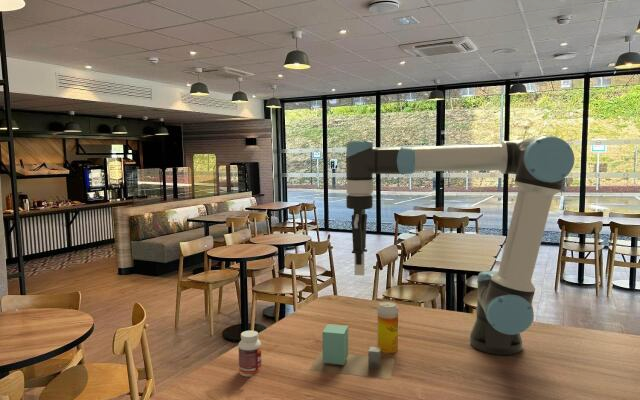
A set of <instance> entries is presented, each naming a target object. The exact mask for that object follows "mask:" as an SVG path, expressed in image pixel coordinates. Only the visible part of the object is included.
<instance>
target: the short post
mask: <svg viewBox="0 0 640 400" xmlns="http://www.w3.org/2000/svg"><path fill="white" fill-rule="evenodd" d="M381 355H382V352H381V348H379V347H376V346H369V349H368V354H367V356H368V369H376V370H379V369H380V366H381V358H382V357H381Z"/></svg>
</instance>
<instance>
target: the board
mask: <svg viewBox="0 0 640 400" xmlns="http://www.w3.org/2000/svg"><path fill="white" fill-rule="evenodd" d="M395 360H396V359H395V358H386V357H381V366H380V369H379V370H376V369H368V355H359V354H358V355H357V354H350V353H348V357H347V359H346V361H345V364H344V365H332V364H329V363H323V350H322V351H319V353H318V354H317V356H316V358H315V359H314V361H313V363H312V365H311V366H310V368H309V371H316V372H325V373H333V374H340V375H349V376H358V377H359V376H360V377H367V378H375V379H383V380H391V379H392V374H393V369H394V366H395Z"/></svg>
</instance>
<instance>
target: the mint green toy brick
mask: <svg viewBox="0 0 640 400" xmlns="http://www.w3.org/2000/svg"><path fill="white" fill-rule="evenodd" d="M321 334H322V335H321V336H322V351H323V363H332V364H340V365H344V364H345V361H346V359H347V357H348V354H349V325H343V324H333V323H332V324H331V323H328V324H326V326H325V327H324V328H323V330H322V333H321Z"/></svg>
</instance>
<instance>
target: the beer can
mask: <svg viewBox="0 0 640 400" xmlns="http://www.w3.org/2000/svg"><path fill="white" fill-rule="evenodd" d="M376 330H377V332H376V335H377V337H376V338H377V341H376V344H377V345H376V346H377V347H379V348H381V353H383V354H394V353H396V352H397V351H398V350H399V348H398V347H399V345H398V344H399V307H398V304H397V303H396V302H395V301H391V300H389V301H388V300H386V301H385V300H384V301H380V302H378V306H377V329H376Z"/></svg>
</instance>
